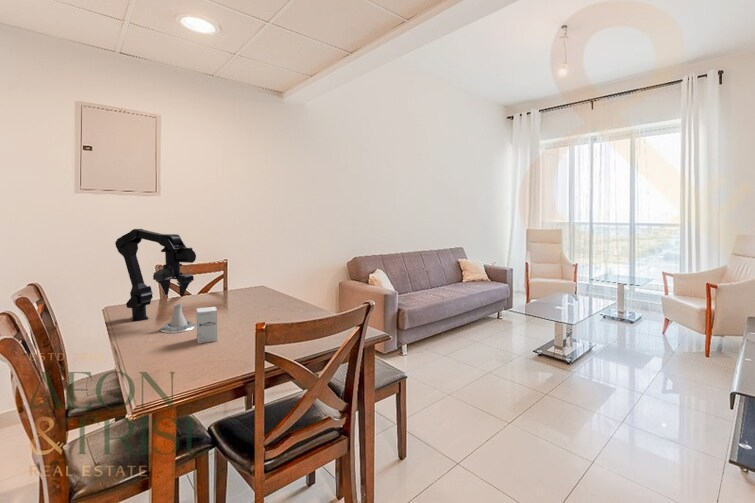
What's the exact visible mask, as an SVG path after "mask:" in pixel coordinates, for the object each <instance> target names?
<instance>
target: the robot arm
mask: <svg viewBox="0 0 755 503" xmlns="http://www.w3.org/2000/svg"><path fill="white" fill-rule="evenodd" d="M142 240H146V241H150V242H154V243H157V244H159V245H160V246H161V247H163V248H162V249H161V250H160V252H161V253H164V255H165V258H164V260H165V264H162V265H163V266H162V268H161V269H159V270H157V271H155V272H153V275H152V277H153V278H152V280H154V281H155V282H157V283H158V284H159V285H160V286H161V288H162V290H163V292H164V295H166V296H167V295H169V291H170V285H171V280H176V284H177V285H178V287H179V295H180V297H184V295H185V293H186V291H187V289H188V287H189V285H190V283H192V281H195V280H194V278H195V277H194V275H193V274H189V273H188V274H187V273H183V272H182V271H181V267H182V266H183V263H186V264H187V263H188V264H192V263H194V262H195V261H196V260H197V254H196V252H195V250H193V247H187V246H186V244H185V243H184V241H183V240H182V238H181V236H180V234H176V233H172V234H170V233H169V234H168V233H167V234H166V233H159V232H155V231H149V230H147V229H143V228H133V229H132V230H130V231H128V232H127V233H125V234H124V235H121V236H120V237H118V238H117V239H116V241H115V242H114V243H115V244H114V245H115V247H116V249H117V252H118V253H119V254H120V255H121V256H122V257H123V259H124V263H125V266H126V269H127V272H128V276H129V280H130V283H131V288H130V292H129V293H130V295H129V296H130V298H129V300H127V302H126V303H125V305H126V308H127V309H131V317H130V320H131V322H135V321H143V320H144V321H145V320H148V319H149V317H148V316H147V306H149V305H151V301H152V299H153V295H154V293H153V291H152V287H151V286H150V285H148V286H147V284H146V283H145V281H144V279H143V275H142V270H141V267H140V263H139V260H138V256H137V253H138V250H139V244H140V243H141V242H142Z"/></svg>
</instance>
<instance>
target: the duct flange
mask: <svg viewBox="0 0 755 503" xmlns="http://www.w3.org/2000/svg"><path fill="white" fill-rule="evenodd" d="M185 320H186V322H187V324H188V325H185V326H179V327H169V325H170V323H171V321H170V322H167V323H165V324H163V326H162V327H161V328H160V329H159V330H160V332H161V333H164V334H179V333H185V332H188V331H191V330H193V329H194V330H195V329H197V323H193V322H192V321H191V320H187V319H185Z"/></svg>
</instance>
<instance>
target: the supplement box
mask: <svg viewBox="0 0 755 503" xmlns="http://www.w3.org/2000/svg"><path fill="white" fill-rule="evenodd" d="M195 311H196V313H195V314H196V315H195V316H196V319H195V320H196V338H197V340H196V341H197V344H203V343H211V342H219V341H218V340H219V339H218V337H219V334H218V332H219V331H218V310H217V307H216V306H211V307H197V308H196V309H195Z"/></svg>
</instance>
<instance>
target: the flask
mask: <svg viewBox="0 0 755 503" xmlns="http://www.w3.org/2000/svg"><path fill="white" fill-rule="evenodd" d="M172 306H173V313H172V314H173V315H172V318H171V320H170V322H171V323H170V325H169V327H179V326H185V325H188V324H187V322H186V320H187V319H186V317H185V316H184V313H183V310H182V306H183V305H182V304H181V303H177V304H173V305H172Z"/></svg>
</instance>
